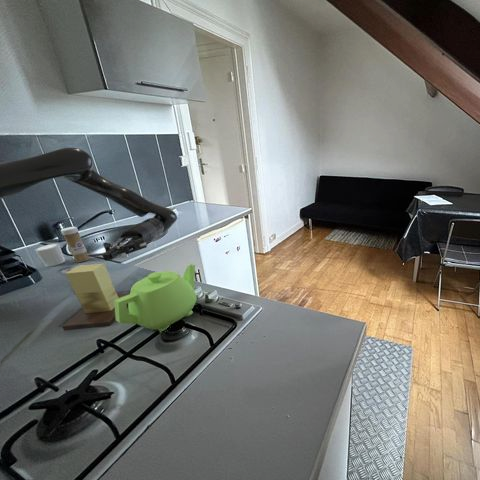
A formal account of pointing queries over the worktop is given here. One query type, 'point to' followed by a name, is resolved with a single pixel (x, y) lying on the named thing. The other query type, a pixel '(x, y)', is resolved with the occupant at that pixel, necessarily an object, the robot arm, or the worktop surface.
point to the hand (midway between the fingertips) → (106, 257)
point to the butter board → (92, 318)
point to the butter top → (89, 278)
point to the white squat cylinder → (50, 254)
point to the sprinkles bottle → (75, 244)
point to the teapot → (158, 300)
